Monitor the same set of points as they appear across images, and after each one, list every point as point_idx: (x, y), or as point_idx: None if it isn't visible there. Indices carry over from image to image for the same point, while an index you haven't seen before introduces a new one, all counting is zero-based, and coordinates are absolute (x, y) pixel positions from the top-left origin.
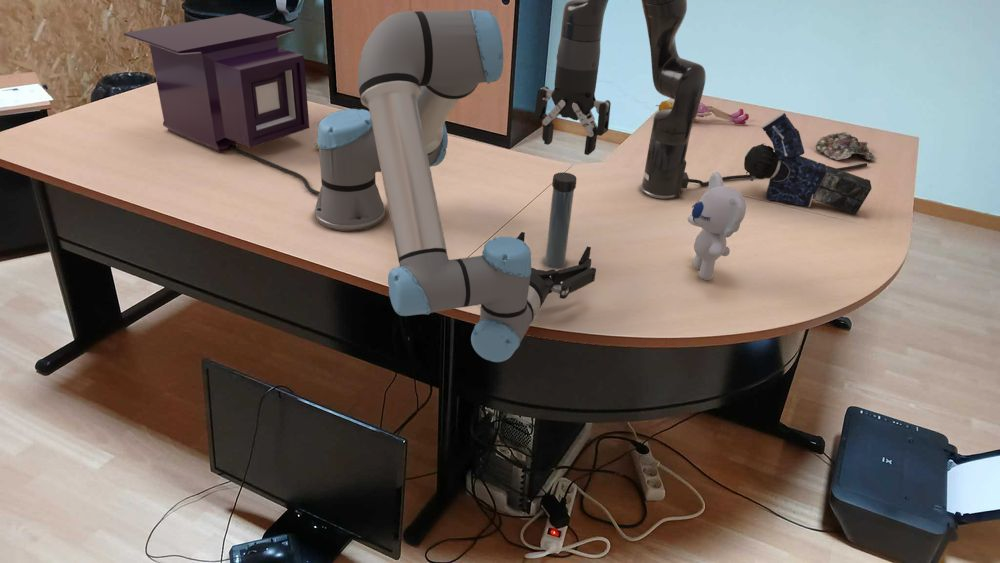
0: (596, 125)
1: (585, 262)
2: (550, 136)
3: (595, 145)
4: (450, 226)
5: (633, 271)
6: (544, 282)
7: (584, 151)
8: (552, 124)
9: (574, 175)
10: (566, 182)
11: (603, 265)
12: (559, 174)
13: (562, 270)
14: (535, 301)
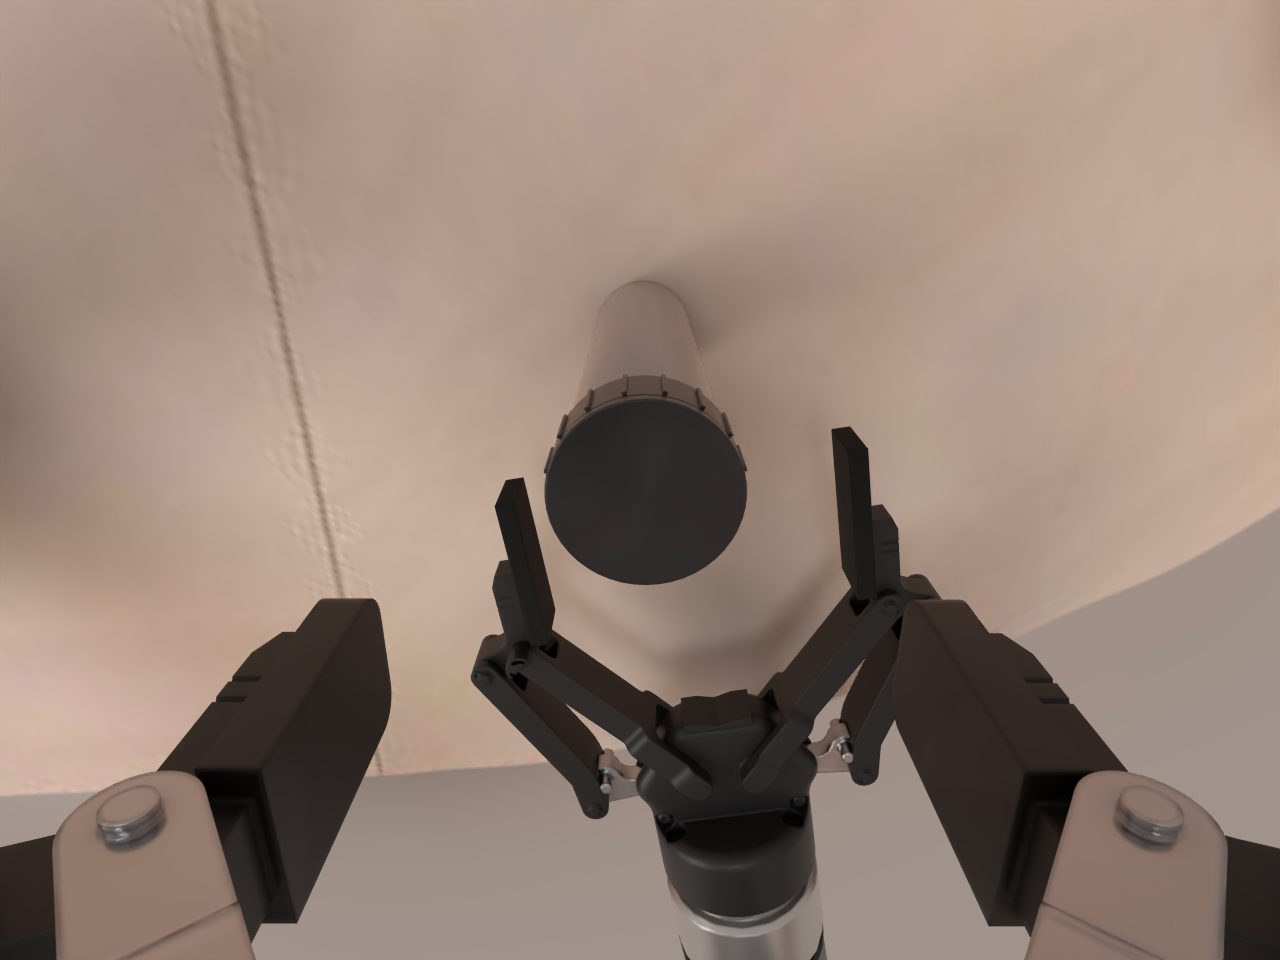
0: (1220, 910)
1: (878, 561)
2: (352, 713)
3: (1052, 686)
4: (57, 309)
5: (997, 176)
6: (802, 831)
7: (902, 737)
8: (262, 808)
9: (701, 414)
10: (698, 568)
11: (849, 211)
12: (582, 477)
13: (817, 690)
14: (816, 916)
